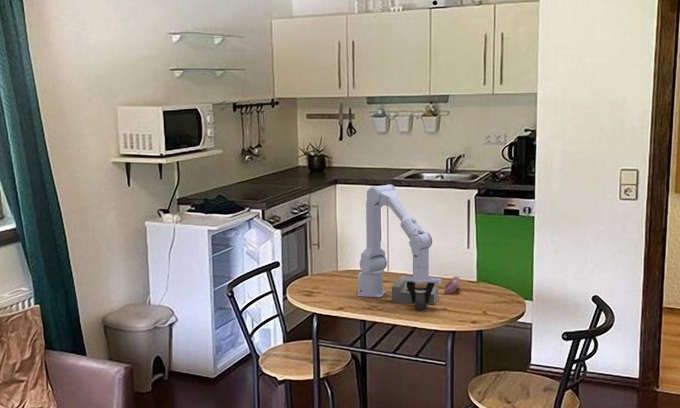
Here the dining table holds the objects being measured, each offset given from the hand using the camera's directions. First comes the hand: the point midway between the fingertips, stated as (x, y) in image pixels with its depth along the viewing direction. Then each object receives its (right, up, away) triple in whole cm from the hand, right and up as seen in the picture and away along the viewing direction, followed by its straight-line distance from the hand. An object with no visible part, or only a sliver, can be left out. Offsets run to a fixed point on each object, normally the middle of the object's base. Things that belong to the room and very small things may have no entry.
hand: (420, 302), depth 253 cm
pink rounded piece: (+15, +1, +23) cm, 27 cm away
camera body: (-1, -1, +12) cm, 12 cm away
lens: (0, -2, 0) cm, 2 cm away
